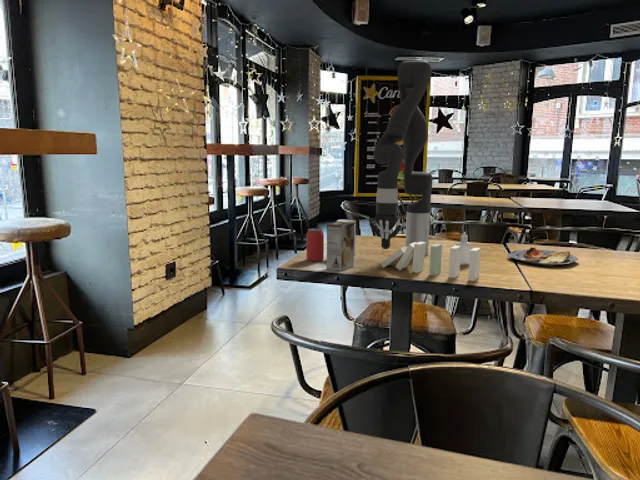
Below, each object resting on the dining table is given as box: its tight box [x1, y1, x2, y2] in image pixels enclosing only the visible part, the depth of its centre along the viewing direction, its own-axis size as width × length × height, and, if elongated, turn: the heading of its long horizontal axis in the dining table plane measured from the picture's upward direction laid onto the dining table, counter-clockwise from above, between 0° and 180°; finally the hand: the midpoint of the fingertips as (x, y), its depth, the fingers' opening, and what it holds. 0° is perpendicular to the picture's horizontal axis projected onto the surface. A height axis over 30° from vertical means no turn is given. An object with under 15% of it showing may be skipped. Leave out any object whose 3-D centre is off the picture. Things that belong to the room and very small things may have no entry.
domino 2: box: [395, 242, 416, 271], centre depth 173 cm, size 6×2×10 cm, turn 147°
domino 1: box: [379, 246, 407, 269], centre depth 176 cm, size 6×2×10 cm
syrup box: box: [336, 218, 357, 257], centre depth 194 cm, size 6×6×14 cm
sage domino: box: [429, 242, 443, 276], centre depth 168 cm, size 6×2×10 cm, turn 147°
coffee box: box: [326, 221, 355, 272], centre depth 175 cm, size 9×6×16 cm
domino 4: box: [448, 244, 461, 279], centre depth 164 cm, size 6×2×10 cm, turn 148°
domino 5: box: [467, 247, 481, 282], centre depth 161 cm, size 6×2×10 cm, turn 148°
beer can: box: [306, 227, 325, 263], centre depth 187 cm, size 7×7×12 cm
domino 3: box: [411, 241, 426, 274], centre depth 171 cm, size 6×2×10 cm, turn 148°
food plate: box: [507, 247, 579, 267], centre depth 190 cm, size 25×23×4 cm
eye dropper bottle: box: [455, 231, 473, 266], centre depth 182 cm, size 4×6×12 cm
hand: (385, 248), depth 178 cm, fingers closed
